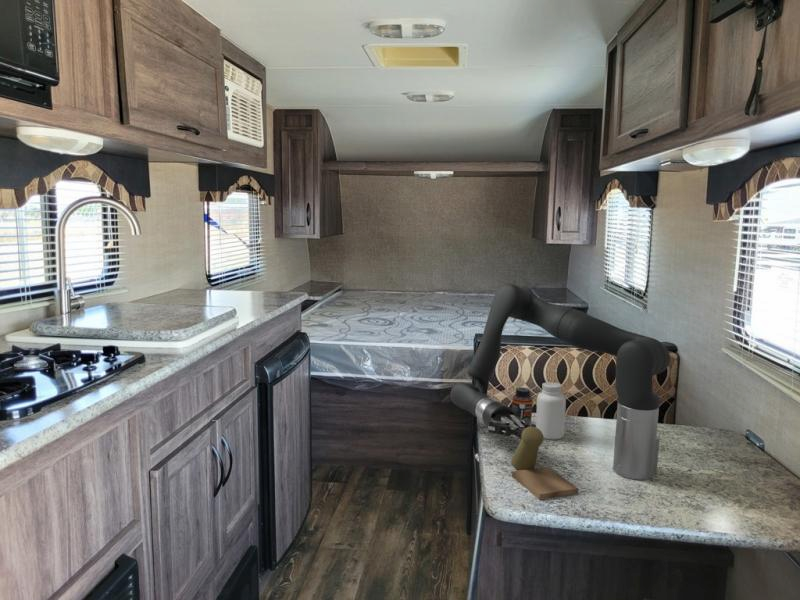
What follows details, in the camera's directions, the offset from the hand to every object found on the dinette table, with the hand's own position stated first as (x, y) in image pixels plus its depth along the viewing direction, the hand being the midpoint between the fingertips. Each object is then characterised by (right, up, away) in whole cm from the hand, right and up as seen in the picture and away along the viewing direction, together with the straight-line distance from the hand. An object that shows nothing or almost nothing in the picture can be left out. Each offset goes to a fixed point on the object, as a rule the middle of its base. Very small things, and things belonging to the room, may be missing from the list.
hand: (527, 437), depth 139 cm
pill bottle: (+12, -5, +25) cm, 28 cm away
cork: (-1, -7, +2) cm, 8 cm away
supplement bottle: (+5, -4, +32) cm, 33 cm away
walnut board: (+2, -9, -6) cm, 12 cm away
